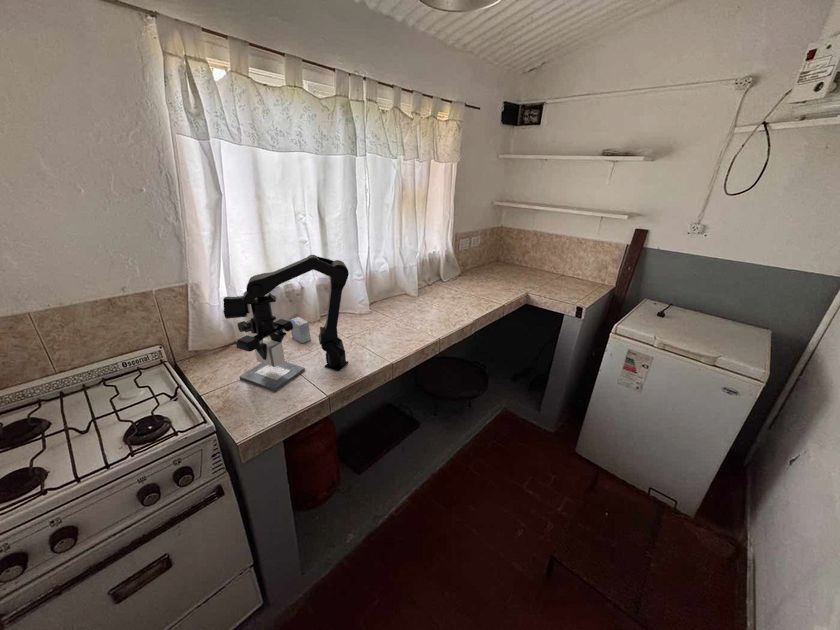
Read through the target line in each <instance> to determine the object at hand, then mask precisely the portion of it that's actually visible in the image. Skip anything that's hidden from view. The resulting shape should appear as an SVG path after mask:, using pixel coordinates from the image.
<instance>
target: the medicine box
mask: <svg viewBox="0 0 840 630" xmlns="http://www.w3.org/2000/svg"><path fill="white" fill-rule="evenodd" d="M289 321H291V322H292V324H293V329H292V330H290V332H291V337H292V339H294V340H296V341H297V342H299V343H301V344H304V343H307V342H309V341H311V331H310V325H309V324H310V323H309V322H308V321H306V320H305V319H303V318H302V317H300V316H298V317H294V318H292V319H290V320H289Z"/></svg>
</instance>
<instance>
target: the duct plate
mask: <svg viewBox="0 0 840 630" xmlns="http://www.w3.org/2000/svg"><path fill="white" fill-rule="evenodd" d="M304 372H306V368H305V367H303V366H300V365H297V364H294V363H290V362H288V361H284V362H282V363H280V364H279V365H277V366H276V367H272V366H270V365H267V364H264V363H261V362H260V363H259V364H258V365H256V366H254V367H253V368H251V369H249V370H248V371H246V372H244V373H242V374H241V375H239V380H241V381H244V382H247V383H249V384H251V385H254V386H256V387H260V388H263V389H266V390H267V391H271V392H272V393H276V392H278V391H279V390H280V389H281V388H283V387H284V386H286V385H287V384H289V383H290V382H291V381H293V380H295V378H297V377H298V376H300V375H301V374H302V373H304Z"/></svg>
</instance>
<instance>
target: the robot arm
mask: <svg viewBox="0 0 840 630" xmlns="http://www.w3.org/2000/svg"><path fill="white" fill-rule="evenodd" d="M313 270H314V271H316V272H318V273H320V274H323V275H325V276H326V277H329V287H330V288H329V295H328V302H327V311H326V318H325V324H324V325H323V326H319V334H318V342H319V343H318V344H319V345H321V350H323V351H324V352H325V361H326V364H325V365H324V368H327V369H329V370H333V371H336V372H340V371H341V370H342V369H344V367H346V366H347V365H349V363H350V362H349V361H348V360H346V349H345V347H344V343H343V342H344V341H343V340H342V339H341V338H340V337H339V336H338V321H339V317H340V315H339V314H340V308H341V301H342V292H343V290H344V287H345V286H346V283H347V281H348V278H349V269H348V267H347V265H346V263H345V262H344V261H342V260H339V259H335V260H333V259H330V258H326V257H322V256H318V255H315V254H310V255H308V256H307V257H304V258H302V259H300V260H297V261H295V262H293V263H291V264H288V265H287V266H284V267H282V268H279V269H277V270H275V271H271V272H270V271H269V272H262V273H259V274H255V275H253V276H251V277H250V278H249V280H248V282H247V284H246V289H245V290H246V291H244V293H243V295H240V296H224V297H223V299H222V300H223V311H222V312H223V315H224V318H225V319H227V320H229V319H237V318H247V317H248V314H250V313H251V312H252V317H251V318H250V320H247V321H244V320H243V321H239V322H237V329H238V331H239V332H240V333H243V332H244V333H249V332H251V333H252V334H254V336H250V335H248V334H246V335H244V336H243V337H241V338H238V339H237V340H236V341H235V346H236V348H237V349H240V350H242V351H246V352H253V351H255V349H256V350H257V351H258V353H259V354H260V356H261V357H262V358H263V359H264V360H266V357H267V344H265V343H263V339H264V338H266V339H267V338H268V337H270V340H273V341H277V342H281V343H283V340H284V338H285V336H286V335H287V332H291V330H292V329H293V324H292V322H291V321H290V320H287V319H283V318H280V319H277V317H276V316H275V315H273V309H272V304H271V303H275V302H277V296H275V295H274V294H273V293H272V291H273V290H274V289H276V288H277V287H279V286H280V285H282V284H284V283H286V282H289V281H291V280H293V279H295V278H297V277H299V276H302V275H304V274H306V273H309V272H311V271H313ZM283 329H284V330H283ZM285 331H286V332H285ZM255 334H256V335H255Z"/></svg>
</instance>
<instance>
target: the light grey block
mask: <svg viewBox="0 0 840 630" xmlns="http://www.w3.org/2000/svg"><path fill="white" fill-rule="evenodd" d="M263 343H265V344H267V357H266V360H264V359H263V358H262V357H261V356H260V354H259V353H258V351H257V350H256V349H255V350H254V352H255V356H256V360H257V361H256V362H258V363H260V364H261V363H264V364H267V365H270V366H272V367H276V366H277V365H279V364H280V363H282V362H284V361H285V360H286V359H285V358H286V357H285V353H284V348H283V342H277V341H273V340H271V338H270V339H269V338H267V337H266V338H264V339H263ZM285 362H286V361H285Z"/></svg>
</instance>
